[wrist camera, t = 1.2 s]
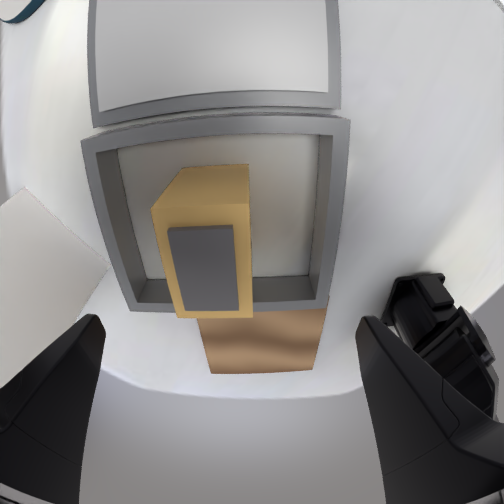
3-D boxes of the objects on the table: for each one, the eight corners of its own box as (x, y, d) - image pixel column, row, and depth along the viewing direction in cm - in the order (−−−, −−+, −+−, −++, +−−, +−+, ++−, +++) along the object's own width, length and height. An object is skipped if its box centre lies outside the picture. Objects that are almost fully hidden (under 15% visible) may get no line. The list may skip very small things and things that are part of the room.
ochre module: (251, 251, 21) (253, 322, 15) (194, 253, 21) (176, 322, 15) (248, 163, 18) (249, 207, 11) (182, 167, 18) (147, 212, 11)
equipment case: (318, 284, 23) (326, 308, 21) (140, 288, 23) (130, 311, 21) (325, -56, 8) (336, -74, 5) (101, -32, 8) (82, -43, 5)
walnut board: (311, 365, 30) (312, 369, 30) (211, 369, 30) (211, 373, 30) (327, 292, 24) (329, 296, 23) (193, 296, 24) (192, 301, 23)
